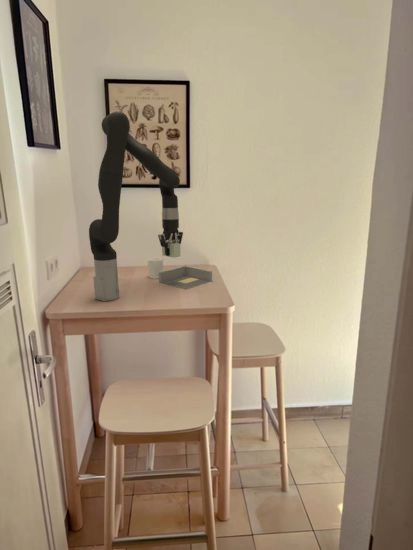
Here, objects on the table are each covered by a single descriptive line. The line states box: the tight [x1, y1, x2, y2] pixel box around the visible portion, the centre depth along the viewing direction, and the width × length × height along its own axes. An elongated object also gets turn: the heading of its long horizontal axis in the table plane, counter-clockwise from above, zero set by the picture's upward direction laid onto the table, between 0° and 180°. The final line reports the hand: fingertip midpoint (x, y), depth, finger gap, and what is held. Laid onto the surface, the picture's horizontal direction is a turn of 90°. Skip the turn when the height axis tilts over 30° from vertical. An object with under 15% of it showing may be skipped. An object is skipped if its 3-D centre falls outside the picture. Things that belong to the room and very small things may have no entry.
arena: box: [158, 265, 213, 291], centre depth 181 cm, size 18×18×6 cm
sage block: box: [161, 241, 181, 259], centre depth 175 cm, size 4×8×6 cm, turn 48°
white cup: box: [147, 257, 164, 280], centre depth 190 cm, size 8×8×10 cm
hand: (171, 254), depth 176 cm, fingers closed on sage block, 4 cm apart
